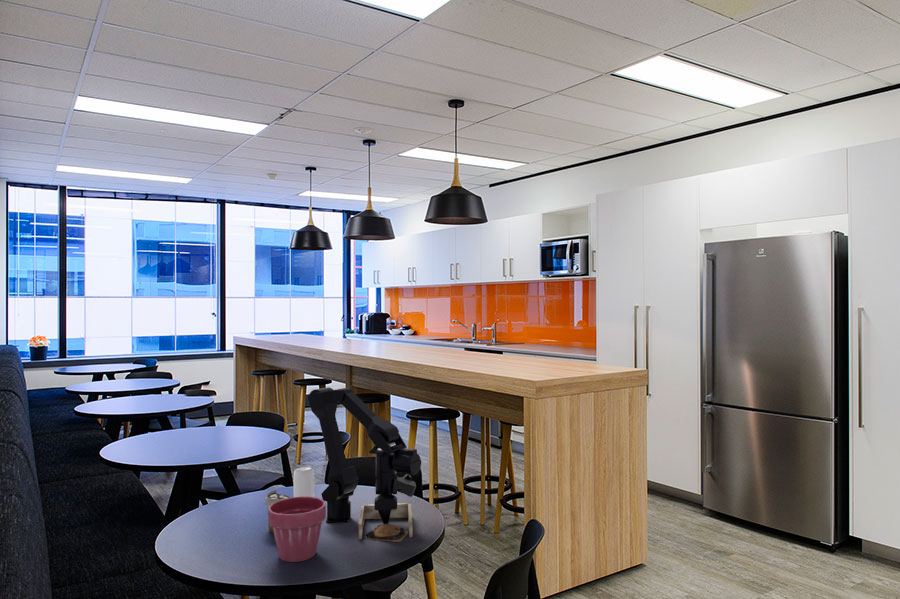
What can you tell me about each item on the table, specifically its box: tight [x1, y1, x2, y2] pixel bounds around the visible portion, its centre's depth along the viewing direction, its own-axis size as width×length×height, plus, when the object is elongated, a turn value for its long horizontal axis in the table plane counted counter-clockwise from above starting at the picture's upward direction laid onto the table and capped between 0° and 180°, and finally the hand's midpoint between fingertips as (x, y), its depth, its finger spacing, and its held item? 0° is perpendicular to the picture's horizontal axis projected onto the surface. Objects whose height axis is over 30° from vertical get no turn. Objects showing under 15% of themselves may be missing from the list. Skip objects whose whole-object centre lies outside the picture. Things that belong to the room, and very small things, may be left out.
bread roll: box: [365, 523, 409, 543], centre depth 169 cm, size 11×8×4 cm
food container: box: [264, 489, 291, 535], centre depth 172 cm, size 12×6×10 cm, turn 48°
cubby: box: [358, 502, 413, 540], centre depth 175 cm, size 15×17×4 cm
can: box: [293, 465, 315, 497], centre depth 195 cm, size 6×6×12 cm
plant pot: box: [267, 496, 327, 563], centre depth 156 cm, size 14×14×13 cm
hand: (386, 525), depth 174 cm, fingers closed
